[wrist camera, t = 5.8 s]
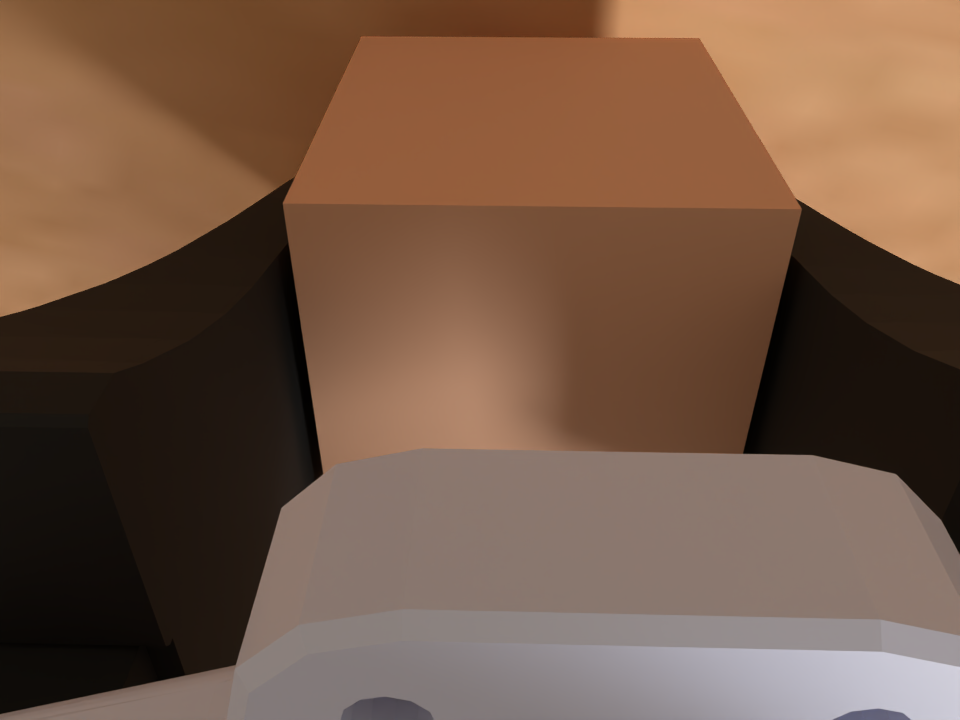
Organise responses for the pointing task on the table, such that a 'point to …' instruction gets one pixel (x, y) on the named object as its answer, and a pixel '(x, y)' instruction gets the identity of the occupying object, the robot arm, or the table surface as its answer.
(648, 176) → the terracotta block
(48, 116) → the table surface
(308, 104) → the table surface
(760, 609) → the robot arm
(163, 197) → the table surface
